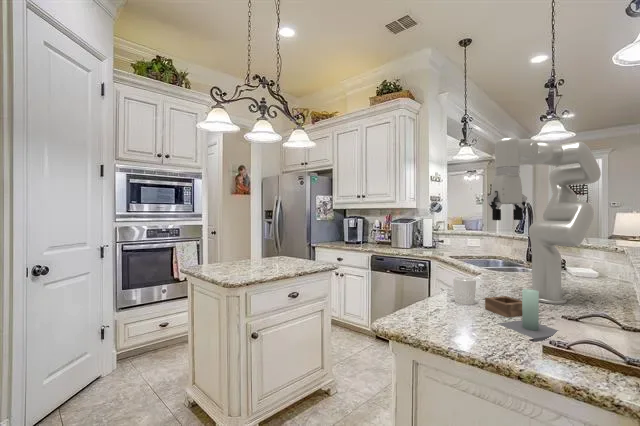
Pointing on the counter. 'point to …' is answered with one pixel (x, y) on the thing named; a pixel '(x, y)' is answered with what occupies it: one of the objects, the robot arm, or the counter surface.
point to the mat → (538, 335)
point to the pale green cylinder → (530, 309)
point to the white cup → (464, 290)
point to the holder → (504, 306)
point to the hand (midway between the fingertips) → (507, 220)
